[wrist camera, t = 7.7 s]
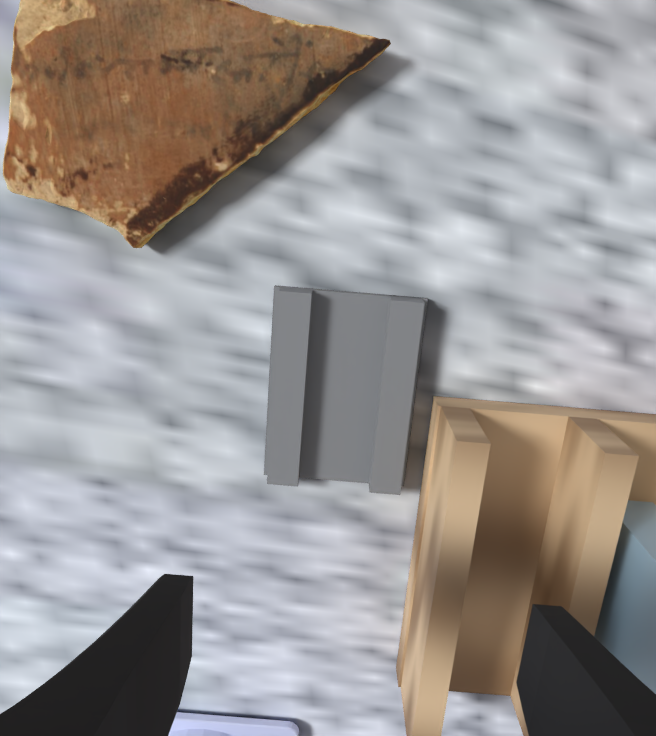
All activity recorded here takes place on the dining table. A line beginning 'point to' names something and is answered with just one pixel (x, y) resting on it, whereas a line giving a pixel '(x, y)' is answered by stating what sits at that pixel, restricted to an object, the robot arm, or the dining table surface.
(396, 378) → the holder
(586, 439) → the rack
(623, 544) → the plate
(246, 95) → the shard
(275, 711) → the dining table surface
